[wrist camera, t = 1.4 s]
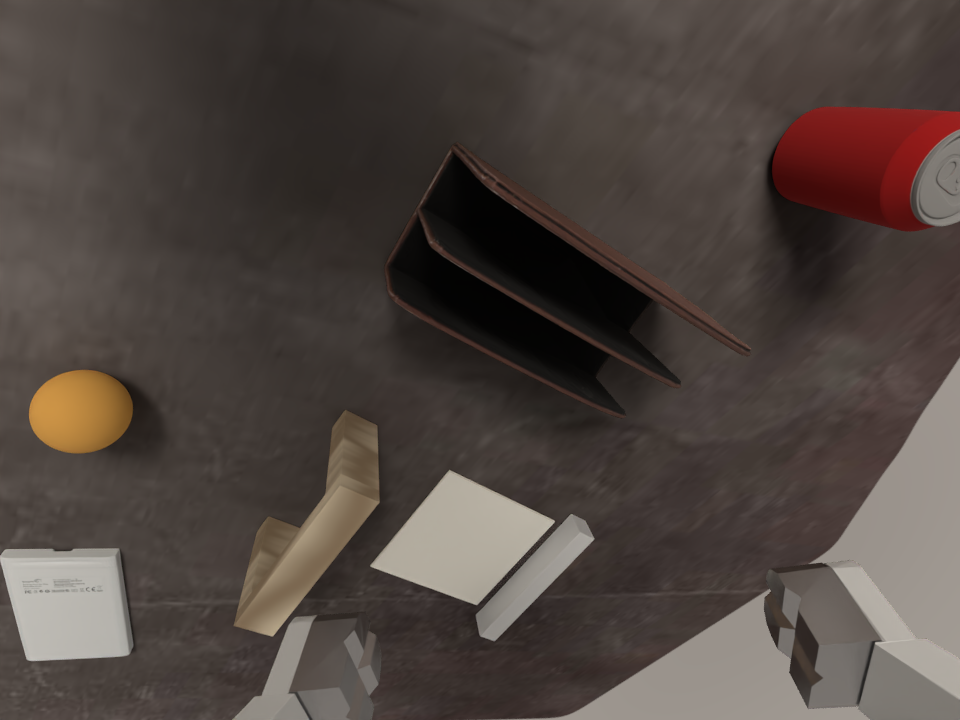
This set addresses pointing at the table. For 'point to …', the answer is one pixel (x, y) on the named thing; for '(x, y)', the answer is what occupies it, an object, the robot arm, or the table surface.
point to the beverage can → (874, 165)
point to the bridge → (312, 531)
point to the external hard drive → (69, 602)
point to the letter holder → (528, 283)
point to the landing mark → (462, 539)
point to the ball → (81, 411)
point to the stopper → (534, 577)
